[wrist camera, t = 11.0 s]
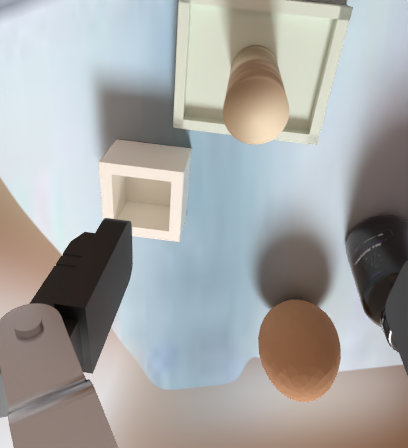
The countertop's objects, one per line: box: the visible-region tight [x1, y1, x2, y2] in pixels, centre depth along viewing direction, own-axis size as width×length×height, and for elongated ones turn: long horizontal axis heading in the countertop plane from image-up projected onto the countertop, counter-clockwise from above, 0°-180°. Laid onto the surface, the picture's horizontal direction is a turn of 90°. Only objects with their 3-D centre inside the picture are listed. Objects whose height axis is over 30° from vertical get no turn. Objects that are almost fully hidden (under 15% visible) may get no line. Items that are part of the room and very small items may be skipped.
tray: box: [173, 0, 353, 145], centre depth 31 cm, size 12×10×2 cm
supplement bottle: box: [346, 215, 408, 352], centre depth 34 cm, size 7×7×12 cm
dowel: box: [223, 45, 289, 145], centre depth 26 cm, size 4×4×11 cm
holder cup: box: [99, 139, 192, 242], centre depth 36 cm, size 7×7×5 cm
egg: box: [258, 299, 340, 402], centre depth 41 cm, size 8×8×11 cm
